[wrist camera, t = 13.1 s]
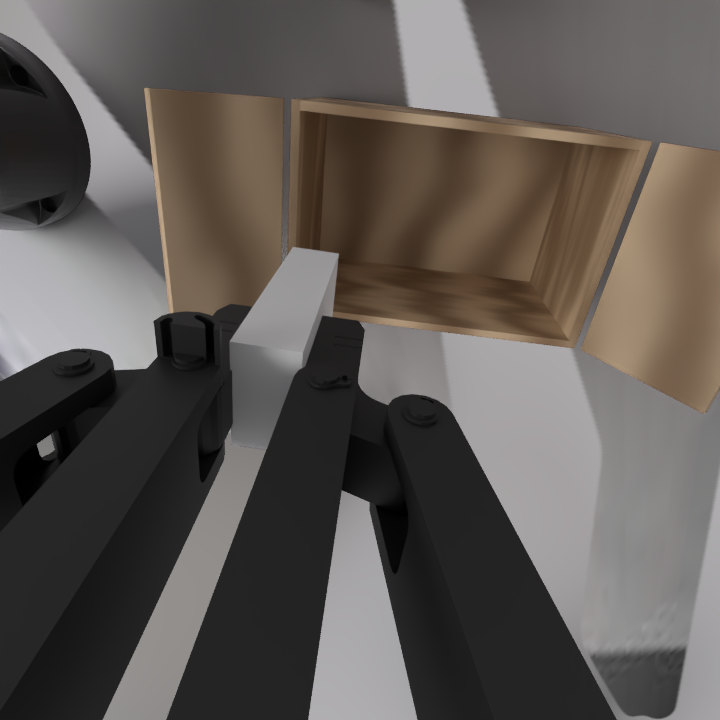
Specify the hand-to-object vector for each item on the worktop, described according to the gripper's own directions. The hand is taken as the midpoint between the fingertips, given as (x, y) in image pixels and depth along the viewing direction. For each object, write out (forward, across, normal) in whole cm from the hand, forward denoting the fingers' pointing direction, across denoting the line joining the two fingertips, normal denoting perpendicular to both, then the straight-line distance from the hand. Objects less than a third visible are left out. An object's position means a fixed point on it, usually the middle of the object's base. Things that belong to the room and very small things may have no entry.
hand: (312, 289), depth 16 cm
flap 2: (+11, +19, -1) cm, 22 cm away
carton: (+27, +6, -1) cm, 28 cm away
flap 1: (+11, -6, -2) cm, 13 cm away
